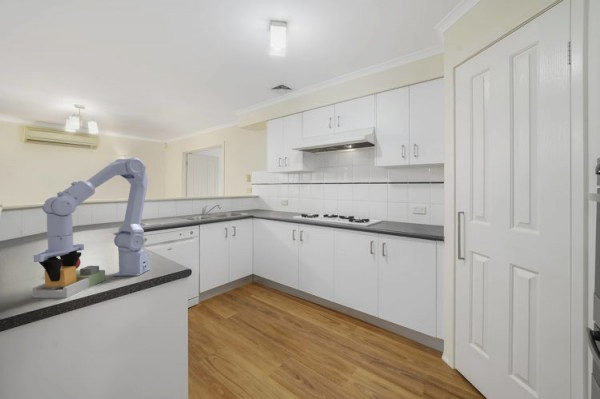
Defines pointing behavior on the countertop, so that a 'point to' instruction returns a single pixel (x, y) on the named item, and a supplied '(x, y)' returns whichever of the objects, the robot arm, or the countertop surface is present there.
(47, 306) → the countertop surface
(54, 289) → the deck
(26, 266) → the countertop surface
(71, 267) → the orange block
